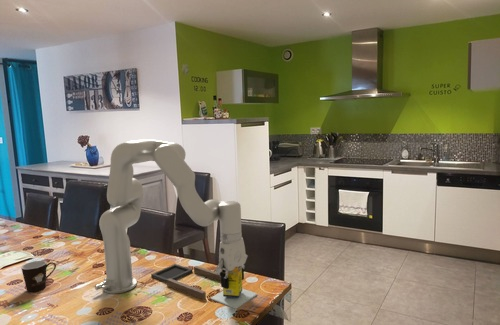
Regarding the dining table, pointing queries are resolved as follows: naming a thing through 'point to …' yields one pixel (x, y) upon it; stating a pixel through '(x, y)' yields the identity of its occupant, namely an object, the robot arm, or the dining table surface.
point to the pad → (234, 298)
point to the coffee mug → (35, 275)
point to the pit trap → (171, 273)
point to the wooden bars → (192, 290)
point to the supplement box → (234, 283)
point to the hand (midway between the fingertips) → (232, 282)
